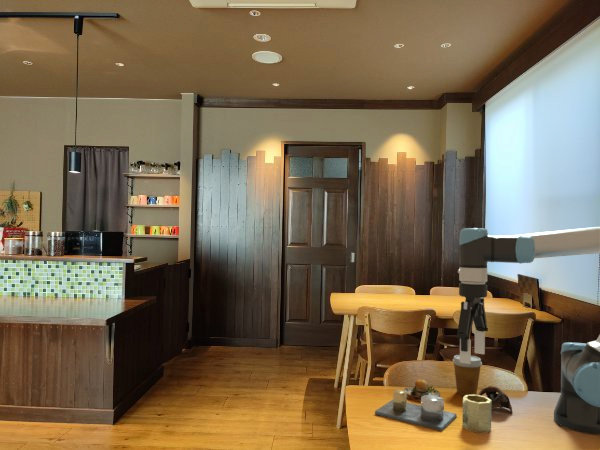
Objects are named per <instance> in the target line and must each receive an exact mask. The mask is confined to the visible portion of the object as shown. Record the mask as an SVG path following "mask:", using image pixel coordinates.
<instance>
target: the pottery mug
mask: <svg viewBox="0 0 600 450" xmlns="http://www.w3.org/2000/svg"><path fill="white" fill-rule="evenodd" d="M477 395H480V396H484V395H486V397H487V398H489V399H491V400H492V405H491V410H493V409H496V408H498V409H503V408H504V409H508V410H509V411H510V414H513V407H512V404H511V402H510V398H509V396H508V395H507V393H505V392H504V391H502V390H501V388H500V387H497V386H496V385H495V386H493V385H489V386H485V387H484V388H482V389H480V390H479V392H477Z"/></svg>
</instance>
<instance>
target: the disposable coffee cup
mask: <svg viewBox="0 0 600 450" xmlns="http://www.w3.org/2000/svg"><path fill="white" fill-rule="evenodd" d="M452 362H453V366H454V376H455V383H456V392H458V393H457V394H459V395H461V396H465V395H478V386H479V380H480V372H481V366H482V365H483V362H482V359H481V358H480V357H478V356H476V355H471V364H467V363H460V354H456V355H454V356H453V359H452Z"/></svg>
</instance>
